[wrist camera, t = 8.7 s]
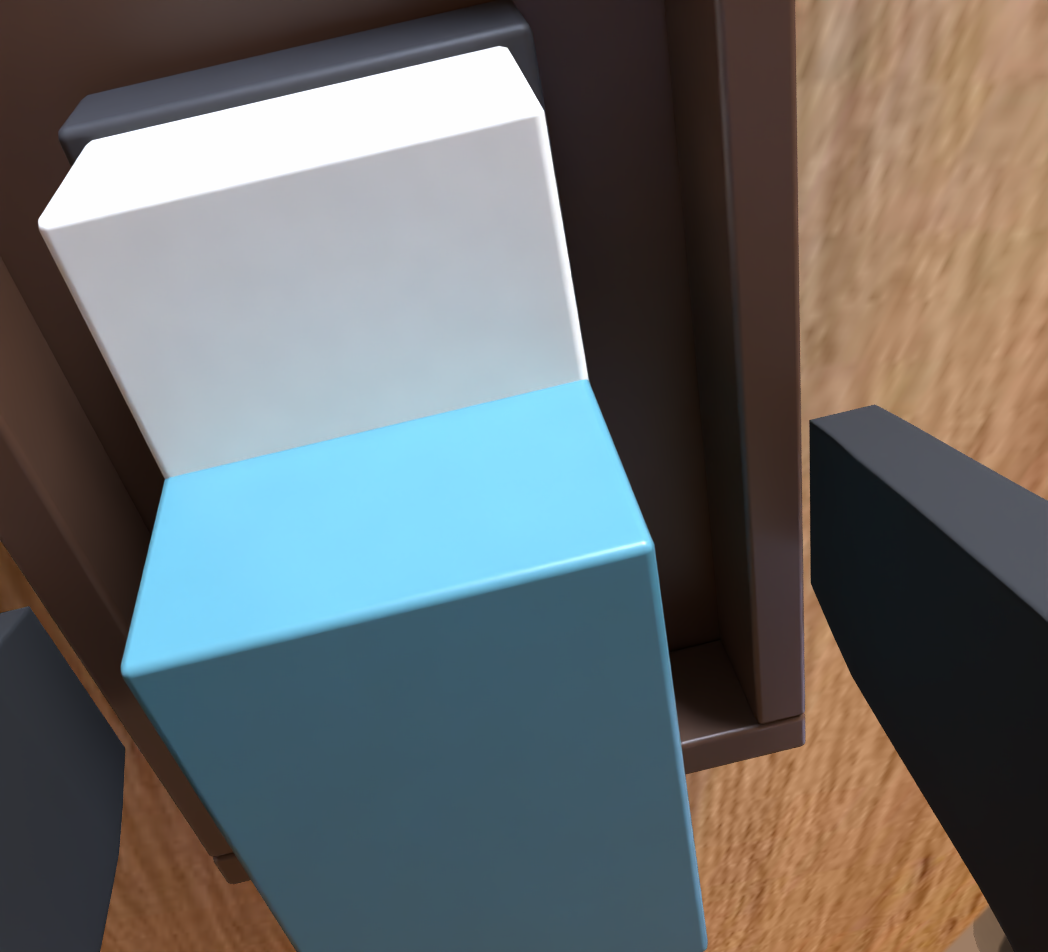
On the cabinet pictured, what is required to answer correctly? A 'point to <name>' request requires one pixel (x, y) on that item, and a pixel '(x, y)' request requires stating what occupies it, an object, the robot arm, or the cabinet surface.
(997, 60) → the cabinet surface
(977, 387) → the cabinet surface
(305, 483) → the toy truck block
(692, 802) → the cabinet surface
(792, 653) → the long brown tray
